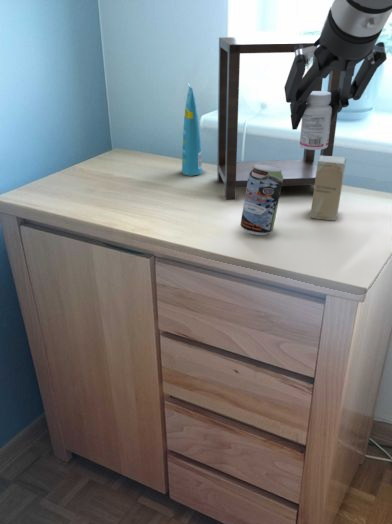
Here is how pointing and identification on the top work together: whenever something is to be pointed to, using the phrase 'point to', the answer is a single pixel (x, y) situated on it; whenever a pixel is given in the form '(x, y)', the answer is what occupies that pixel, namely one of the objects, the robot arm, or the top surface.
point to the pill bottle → (316, 121)
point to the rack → (228, 99)
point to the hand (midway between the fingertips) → (309, 121)
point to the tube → (191, 138)
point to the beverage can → (261, 199)
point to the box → (328, 187)
